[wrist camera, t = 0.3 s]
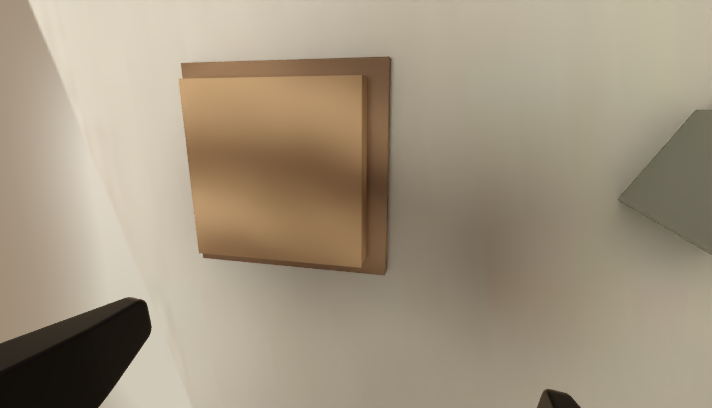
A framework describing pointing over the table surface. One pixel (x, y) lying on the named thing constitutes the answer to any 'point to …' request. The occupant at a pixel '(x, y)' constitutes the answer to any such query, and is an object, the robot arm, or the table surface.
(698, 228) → the slate block
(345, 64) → the walnut base slab
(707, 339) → the table surface
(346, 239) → the oak top slab
